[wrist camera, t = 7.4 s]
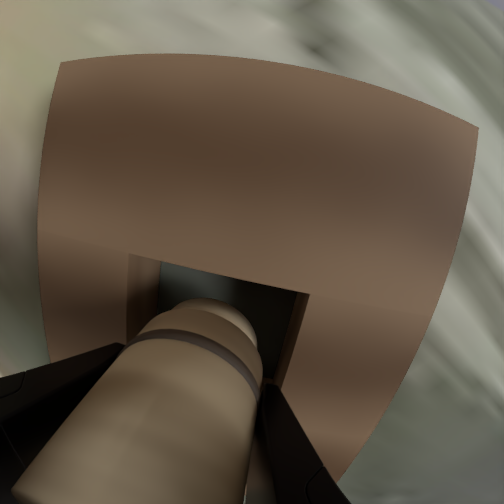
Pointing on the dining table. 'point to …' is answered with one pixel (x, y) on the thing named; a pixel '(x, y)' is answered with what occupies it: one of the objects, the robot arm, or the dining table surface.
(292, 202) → the board
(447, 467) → the dining table surface
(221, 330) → the peg
